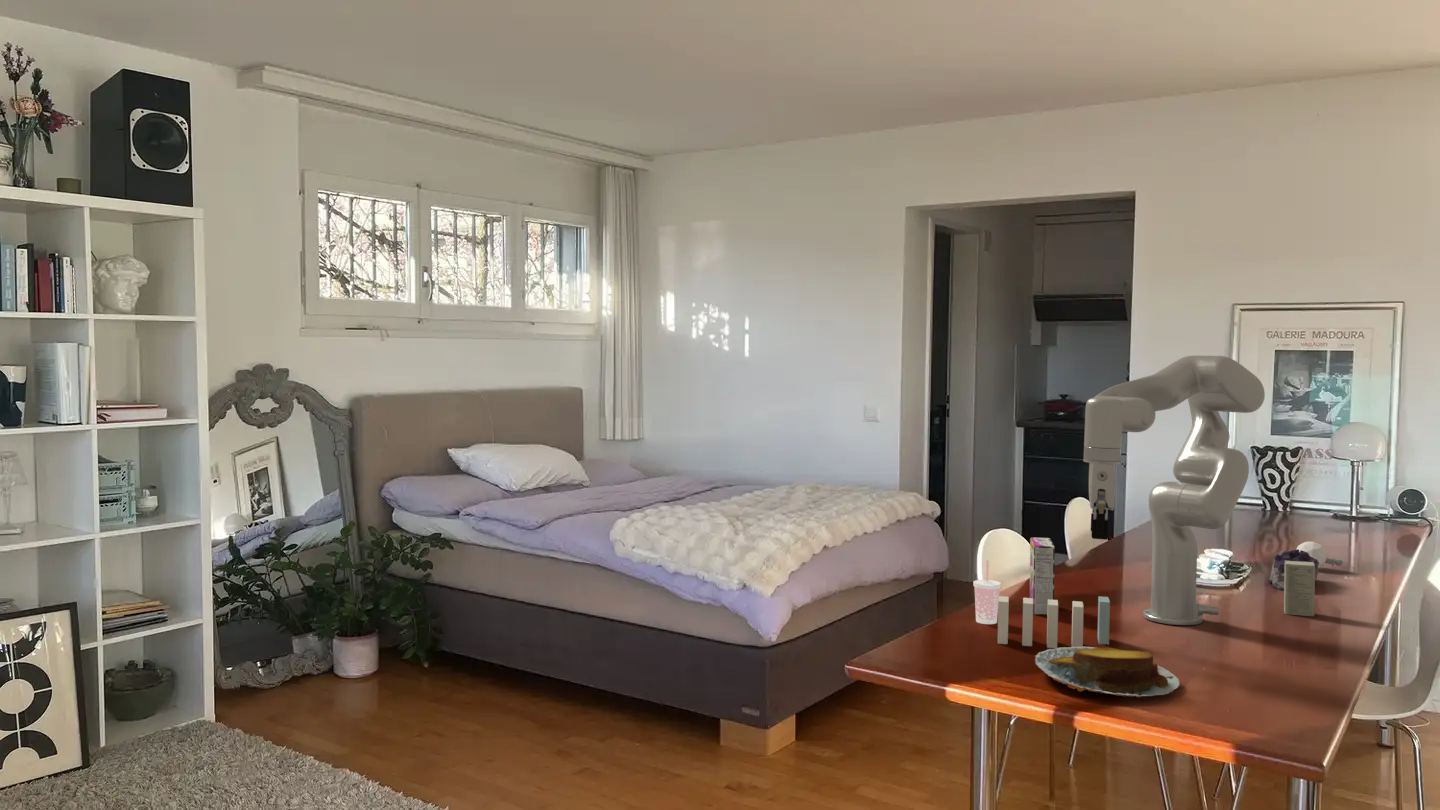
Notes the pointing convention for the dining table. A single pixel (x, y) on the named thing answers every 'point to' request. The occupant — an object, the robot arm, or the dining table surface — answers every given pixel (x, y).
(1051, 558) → the candy bar box
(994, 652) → the dining table surface
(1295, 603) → the skincare box
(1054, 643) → the domino
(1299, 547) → the perfume bottle
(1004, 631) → the domino
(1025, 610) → the domino
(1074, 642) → the domino
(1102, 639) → the domino
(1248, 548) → the dining table surface
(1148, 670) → the food on plate
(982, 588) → the beverage cup
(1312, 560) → the geode
